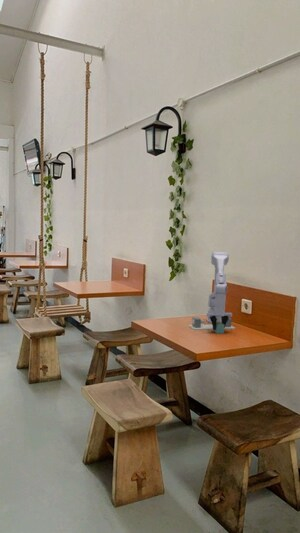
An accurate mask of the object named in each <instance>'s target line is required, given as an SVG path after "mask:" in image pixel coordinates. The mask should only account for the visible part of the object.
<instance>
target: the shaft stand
mask: <svg viewBox="0 0 300 533" xmlns="http://www.w3.org/2000/svg"><path fill="white" fill-rule="evenodd" d="M232 319H233V318H231V317H229V320H228V321H227V323H226V325H225V328H224V330H235V329H236V327H235V326H233V325H232V323H233V322H232ZM191 320H192V324H188V327H189V328H190V329H192V330H193V331H211V330H212V331H213V326H212V323H209V324H207V323H206V324H204V322H205V320H204V319H203V318H199V317H197V316H196V317H192V319H191ZM220 322H221V323H222V320H221V319H220Z"/></svg>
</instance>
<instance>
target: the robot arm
mask: <svg viewBox="0 0 300 533" xmlns="http://www.w3.org/2000/svg"><path fill="white" fill-rule="evenodd" d="M229 254H230V253H229V252H228V251H215V250H213V251H211V256H210V257H211V258H210V259H211V261H210V263H211V265H213V267H214V282H213V284H214V285H213V292H211V293H209V295H208V303H207V306H208V307H209V308H208V310H207V312H206V315H205V316H206V318H207V319H206V321H207V322H209V324H212V326H213V329H214V330H216V321H218V322H220V319H221V320H222V323H223V324H224V328H225V325H226V323H227V321H228V320H229V318H231V317H233V313H232V312H226V300H227V297H226V296H227V294H228V285H227V277H226V276H227V275H226V273H224V272H225V266H227V265H228V262H229V258H230V257H229V256H230V255H229Z"/></svg>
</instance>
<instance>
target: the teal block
mask: <svg viewBox="0 0 300 533" xmlns="http://www.w3.org/2000/svg"><path fill="white" fill-rule="evenodd" d="M212 332H214V333H216V334H224V333H225V329H224V324H223V323H221V322H218V321H216V330H214V329H213V330H212Z"/></svg>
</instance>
